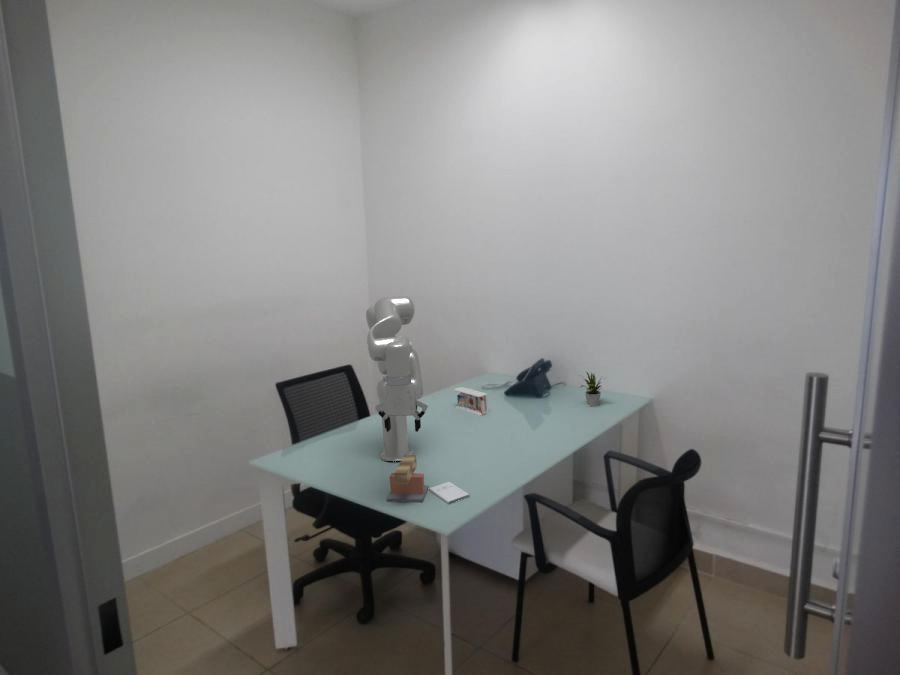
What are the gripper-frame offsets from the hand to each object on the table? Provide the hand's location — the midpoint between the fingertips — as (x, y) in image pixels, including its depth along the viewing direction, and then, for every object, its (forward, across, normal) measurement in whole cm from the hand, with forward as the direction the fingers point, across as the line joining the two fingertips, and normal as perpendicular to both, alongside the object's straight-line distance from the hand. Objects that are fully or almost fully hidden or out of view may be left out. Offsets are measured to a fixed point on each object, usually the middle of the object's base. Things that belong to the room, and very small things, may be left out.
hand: (403, 430), depth 185 cm
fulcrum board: (+23, 0, 0) cm, 23 cm away
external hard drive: (+23, +14, +1) cm, 27 cm away
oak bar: (+16, 0, 0) cm, 16 cm away
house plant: (+24, +67, +96) cm, 119 cm away
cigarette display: (+24, +11, +88) cm, 91 cm away
